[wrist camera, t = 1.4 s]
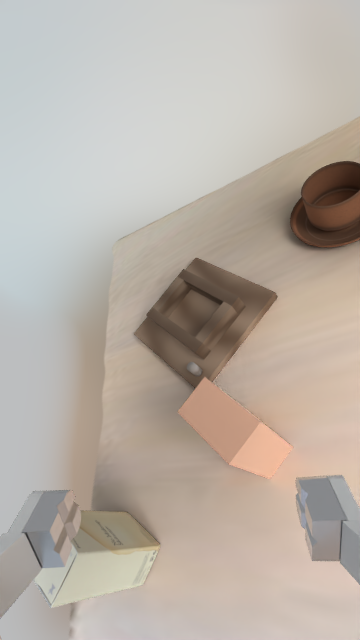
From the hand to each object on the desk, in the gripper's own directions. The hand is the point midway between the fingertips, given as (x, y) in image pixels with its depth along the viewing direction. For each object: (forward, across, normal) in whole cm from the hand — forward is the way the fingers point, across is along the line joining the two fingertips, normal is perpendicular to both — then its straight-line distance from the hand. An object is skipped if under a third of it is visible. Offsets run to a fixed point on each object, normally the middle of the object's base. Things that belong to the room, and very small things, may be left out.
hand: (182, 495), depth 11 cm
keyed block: (+19, -5, +16) cm, 25 cm away
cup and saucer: (+38, -20, -4) cm, 43 cm away
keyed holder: (+35, 0, +7) cm, 36 cm away
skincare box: (+15, +10, +26) cm, 31 cm away
